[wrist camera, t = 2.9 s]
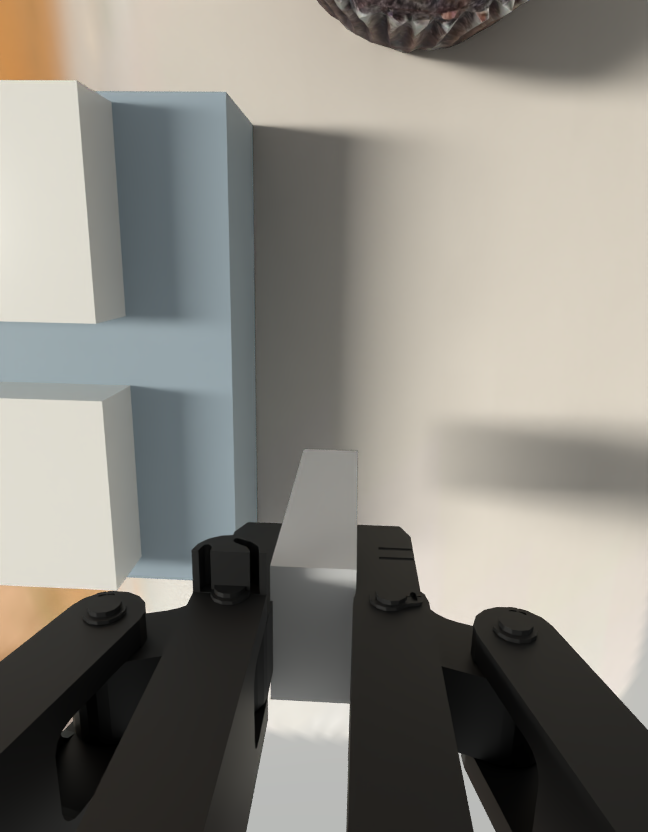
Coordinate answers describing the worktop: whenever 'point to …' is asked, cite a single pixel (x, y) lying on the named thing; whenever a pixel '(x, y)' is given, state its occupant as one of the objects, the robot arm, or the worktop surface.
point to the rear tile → (67, 486)
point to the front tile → (58, 205)
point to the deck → (173, 321)
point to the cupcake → (418, 20)
